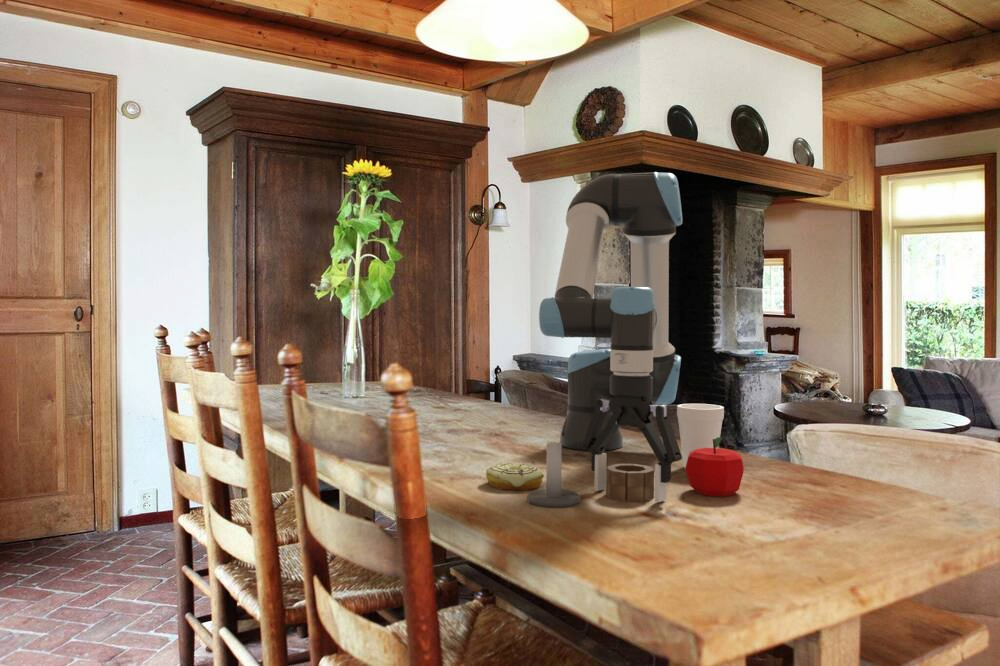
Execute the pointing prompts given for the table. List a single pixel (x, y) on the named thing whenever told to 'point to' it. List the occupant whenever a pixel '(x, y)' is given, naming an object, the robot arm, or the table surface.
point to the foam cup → (698, 426)
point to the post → (553, 483)
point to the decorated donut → (514, 476)
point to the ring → (630, 482)
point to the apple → (714, 470)
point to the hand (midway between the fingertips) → (629, 495)
